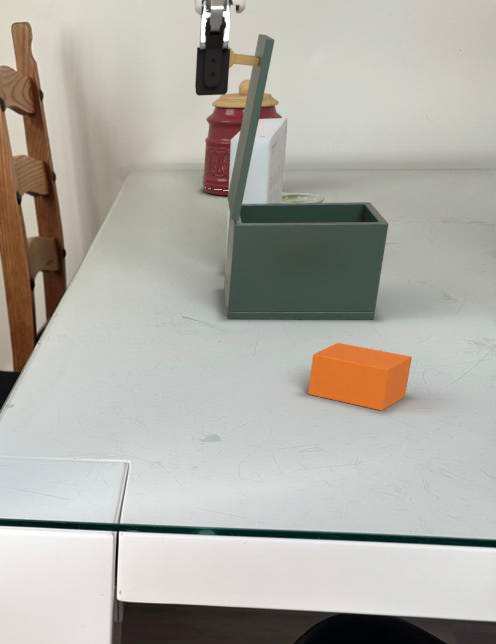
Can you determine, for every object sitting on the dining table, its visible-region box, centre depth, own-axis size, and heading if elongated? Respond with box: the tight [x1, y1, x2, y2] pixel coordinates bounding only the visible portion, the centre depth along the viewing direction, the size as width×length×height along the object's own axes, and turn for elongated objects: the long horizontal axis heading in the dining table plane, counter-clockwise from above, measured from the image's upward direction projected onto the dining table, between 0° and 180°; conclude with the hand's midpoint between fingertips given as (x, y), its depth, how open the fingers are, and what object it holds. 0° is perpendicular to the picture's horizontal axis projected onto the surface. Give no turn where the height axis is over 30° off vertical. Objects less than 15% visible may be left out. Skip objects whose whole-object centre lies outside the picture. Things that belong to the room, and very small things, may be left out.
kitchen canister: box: [202, 79, 283, 197], centre depth 176 cm, size 13×13×18 cm
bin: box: [223, 201, 389, 321], centre depth 112 cm, size 16×13×10 cm
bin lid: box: [222, 33, 276, 220], centre depth 106 cm, size 16×13×5 cm
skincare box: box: [224, 117, 288, 271], centre depth 131 cm, size 21×6×16 cm, turn 162°
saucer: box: [282, 192, 325, 203], centre depth 160 cm, size 10×10×2 cm
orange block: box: [307, 342, 413, 412], centre depth 87 cm, size 7×4×4 cm, turn 47°
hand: (210, 90), depth 104 cm, fingers closed on bin lid, 5 cm apart
